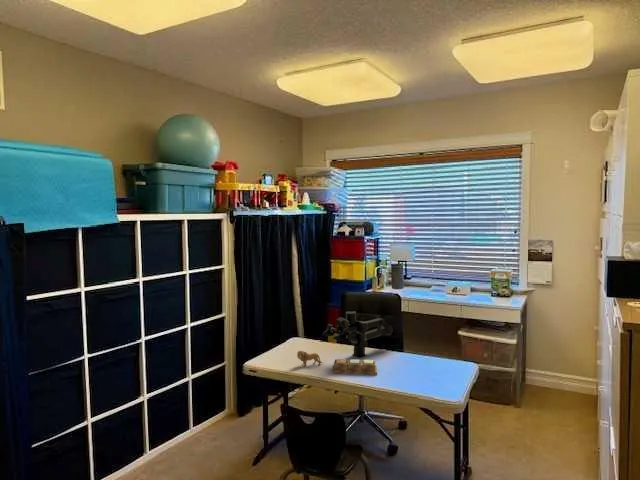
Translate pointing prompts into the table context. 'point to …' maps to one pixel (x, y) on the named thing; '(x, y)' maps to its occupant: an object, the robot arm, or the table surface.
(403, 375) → the table surface
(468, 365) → the table surface
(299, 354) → the lion figurine
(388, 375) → the table surface
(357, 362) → the button
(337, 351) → the table surface
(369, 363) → the button
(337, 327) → the robot arm
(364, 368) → the button board
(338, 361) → the three-pip button
